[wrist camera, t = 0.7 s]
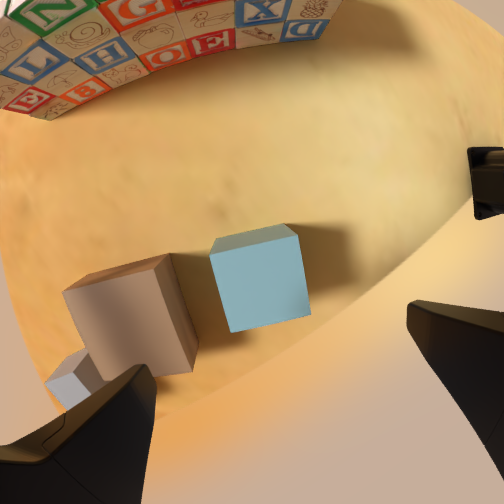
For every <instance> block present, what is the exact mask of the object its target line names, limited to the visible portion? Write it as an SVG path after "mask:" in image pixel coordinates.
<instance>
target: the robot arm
mask: <svg viewBox="0 0 504 504" xmlns="http://www.w3.org/2000/svg"><path fill="white" fill-rule="evenodd" d="M467 154H468V160H469V167H470V174H471V182H472V192H473V204H474V217H475V219H477V220H482V219H486V218H489V217H493V216H496V215H499V214H504V148H503V147H469V148H468V149H467ZM407 329H408V331H409V333H410V335H411V336H412V338H413V339H414V341H415V342H416V344H417V346H418V348H419V350H420V351H421V353H422V355H423V356H424V358H425V359H426V361H427V362H428V364H429V365H430V367H431V368H432V369H433V371H434V372H435V373H436V375H437V376H438V377H439V379H440V380H441V382H442V383H443V384H444V386H445V387H446V389H447V390H448V391H449V393H450V394H451V396H452V397H453V399H454V400H455V402H456V403H457V404H458V406H459V407H460V409H461V410H462V411H463V413H464V415H465V416H466V418H467V419H468V421H469V422H470V424H471V426H472V427H473V429H474V430H475V432H476V433H477V435H478V437H479V438H480V440H481V441H482V443H483V445H485V448H486V450H487V452H488V453H489V455H490V457H491V458H492V460H493V462H494V464H495V465H496V467H497V469H498V471H499V472H500V474H501V476H502V478H503V480H504V312H499V311H491V310H484V309H477V308H470V307H463V306H456V305H449V304H442V303H436V302H429V301H423V300H416V301H413V302H410V303H409V304H408V306H407ZM156 394H157V384H156V381H155V379H154V377H153V375H152V373H151V371H150V369H149V367H148V366H147V365H146V364H135V365H133V366H132V367H131V368H129V369H128V370H126V371H125V372H123V373H122V374H120V375H119V376H118V377H116V378H115V379H113V380H112V381H110V382H109V383H108V384H106V385H105V386H103V387H102V388H100V389H99V390H97V391H96V392H94V393H93V394H92V395H90V396H89V397H87V398H86V399H84V400H83V401H81V402H80V403H78V404H77V405H75V406H74V407H72V408H71V409H69V410H68V411H66V413H63V414H62V415H60V416H59V417H57V418H56V419H54V420H52V421H51V422H49V423H48V424H46V425H44V426H43V427H41V428H40V429H37V430H36V431H34V432H32V433H30V434H28V435H26V436H25V437H23V438H21V439H19V440H17V441H15V442H13V443H11V444H8V445H2V446H0V504H141V499H142V491H143V485H144V478H145V472H146V466H147V459H148V454H149V448H150V443H151V437H152V432H153V426H154V418H155V405H156Z"/></svg>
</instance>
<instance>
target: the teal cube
mask: <svg viewBox="0 0 504 504" xmlns="http://www.w3.org/2000/svg"><path fill="white" fill-rule="evenodd" d="M209 257H210V261H211V264H212V268H213V272H214V276H215V279H216V283H217V286H218V290H219V294H220V297H221V301H222V304H223V308H224V311H225V315H226V318H227V322H228V325H229V328H230V332H231V333H233V332H238V331H243V330H248V329H252V328H257V327H262V326H266V325H270V324H275V323H279V322H283V321H288V320H292V319H296V318H300V317H304V316H308V315H311V310H310V304H309V297H308V291H307V285H306V279H305V273H304V267H303V261H302V256H301V250H300V245H299V239H298V235H297V234H296V233H295V232H293V231H292V230H291V229H290V228H289V227H287V226H286V225H285V224H284V223H283V224H279V225H274V226H270V227H265V228H261V229H256V230H252V231H248V232H243V233H239V234H234V235H230V236H226V237H221V238H217V239H216V240H215V242H214V244H213V247H212V249H211V252H210V254H209Z"/></svg>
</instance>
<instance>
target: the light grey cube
mask: <svg viewBox="0 0 504 504" xmlns="http://www.w3.org/2000/svg"><path fill="white" fill-rule="evenodd" d="M110 381H112V380H110ZM110 381H104V380H103V378H102V377H101V375H100V373H99V371H98V369H97V368H96V366H95V364H94V362H93V360H92V358H91V356H90V355H89V353H88V351H87V349H86V348H84V349H82V350H80V351H78V352H76V353H74V354H72V355H70V356H68V357H66V359H65V360H64V361H63V362H62V363H61V364H60V365H59V367H58V368H57V369H56V370H55V371H54V373H53V374H52V375H51V376H50V377H49V378H48V380H47V381H46V382H45V383H44V384H45V385H46V386H47V388H48V389H49V390H50V391H51V392H52V394H53V395H54V396H55V397H56V398H57V399H58V401H59V402H60V403H61V404H62V405H63V406H64V407H65V408H66V409H67V411H68V410H69V409H71V408H72V407H74V406H75V405H77V404H78V403H80V402H81V401H83V400H84V399H86V398H87V397H89V396H90V395H92V394H93V393H94V392H96V391H97V390H99V389H100V388H102V387H103V386H105V385H106V384H108V383H109V382H110Z"/></svg>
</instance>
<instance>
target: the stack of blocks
mask: <svg viewBox="0 0 504 504" xmlns="http://www.w3.org/2000/svg"><path fill="white" fill-rule="evenodd" d="M342 1H343V0H0V109H1V108H2V109H5V110H9V111H13V112H18V113H23V114H28V115H29V116H31V117H35V118H39V119H44V120H48V121H51V120H53V119H54V118H56V117H58V116H59V115H61V114H63V113H64V112H66V111H68V110H70V109H72V108H74V107H75V106H77V105H81V104H83V103H85V102H87V101H89V100H91V99H93V98H95V97H97V96H99V95H101V94H103V93H105V92H108V91H110V90H112V89H114V88H117V87H119V86H121V85H124V84H126V83H129V82H131V81H134V80H136V79H139V78H141V77H144V76H147V75H149V74H150V73H151V72H153V71H157V70H160V69H162V68H165V67H167V66H171V65H174V64H178V63H181V62H184V61H188V60H191V59H192V58H196V57H200V56H204V55H208V54H212V53H216V52H220V51H225V50H230V49H233V48H236V49H241V48H246V47H252V46H258V45H265V44H273V43H278V42H288V41H299V40H314V39H319V37H320V36H321V34H322V32H323V31H324V29H325V27H326V26H327V24H328V23H329V21H330V18H332V17H333V15H334V14H335V12H336V10H337V9H338V7H339V6H340V4H341V2H342Z"/></svg>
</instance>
